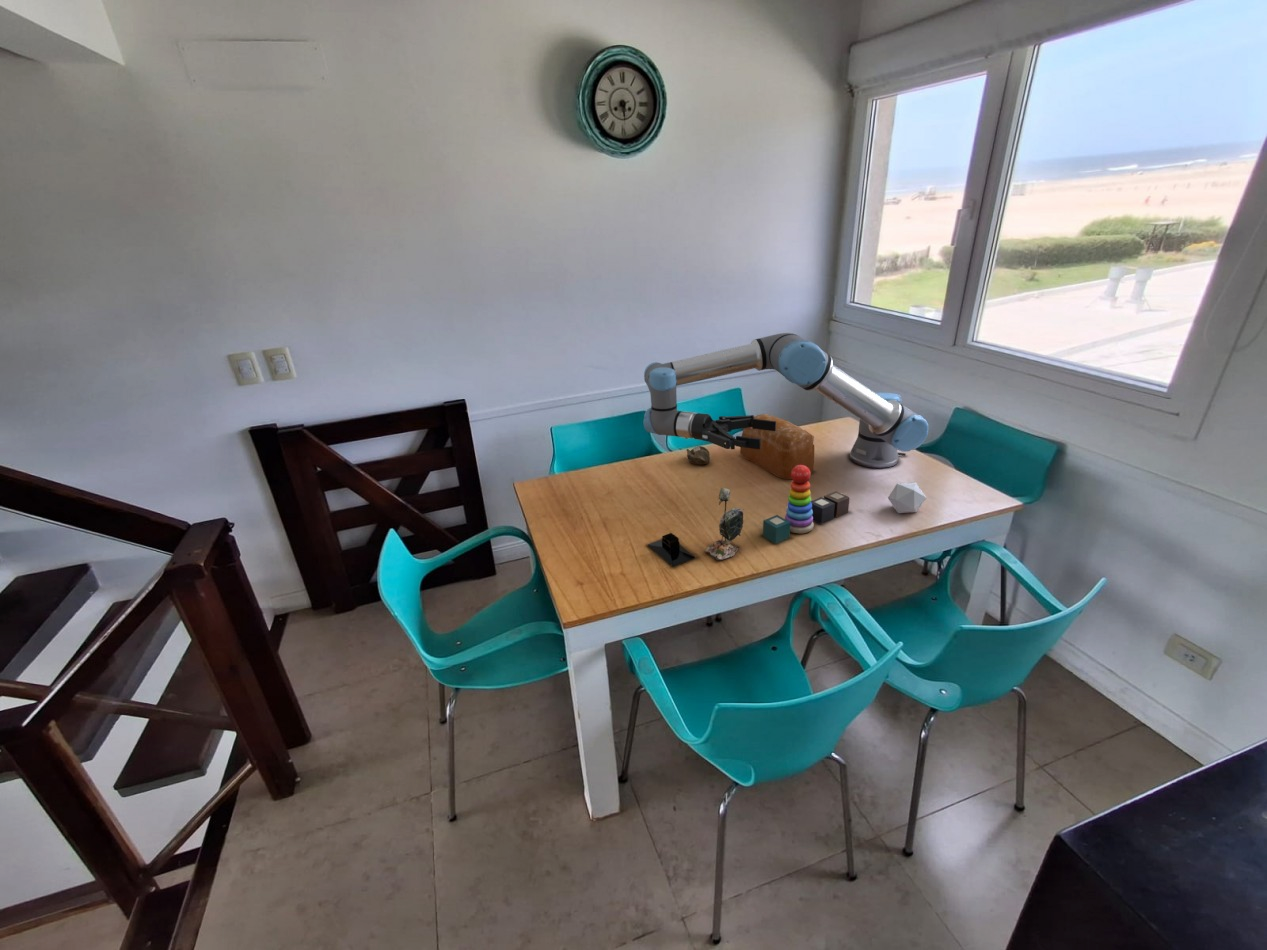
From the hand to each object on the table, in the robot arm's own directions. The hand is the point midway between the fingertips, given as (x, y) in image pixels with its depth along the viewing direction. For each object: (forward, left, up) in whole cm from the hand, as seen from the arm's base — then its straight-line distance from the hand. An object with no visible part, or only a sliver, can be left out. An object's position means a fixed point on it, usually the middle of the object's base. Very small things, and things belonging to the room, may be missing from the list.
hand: (768, 434), depth 149 cm
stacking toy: (-4, +9, -26) cm, 28 cm away
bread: (-29, -26, -26) cm, 47 cm away
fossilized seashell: (-9, -44, -26) cm, 52 cm away
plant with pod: (+19, +6, -26) cm, 33 cm away
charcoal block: (-13, +9, -26) cm, 30 cm away
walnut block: (-19, +9, -26) cm, 33 cm away
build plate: (+31, -2, -26) cm, 41 cm away
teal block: (+4, +9, -26) cm, 28 cm away
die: (-35, +20, -26) cm, 48 cm away
